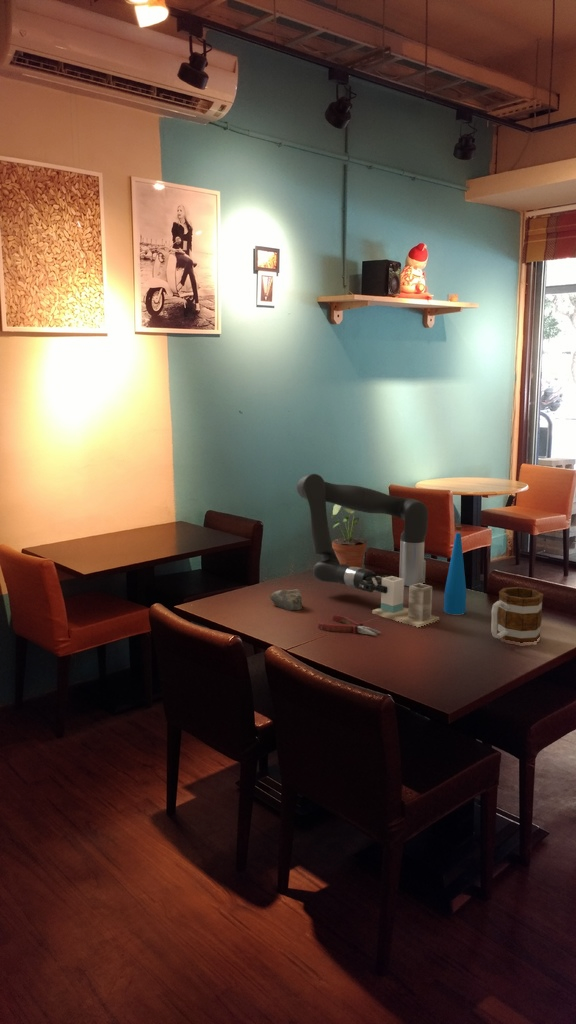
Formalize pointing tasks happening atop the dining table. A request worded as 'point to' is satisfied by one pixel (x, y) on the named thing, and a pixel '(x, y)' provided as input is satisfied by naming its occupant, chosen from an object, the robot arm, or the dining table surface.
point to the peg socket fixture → (414, 607)
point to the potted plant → (348, 542)
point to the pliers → (347, 626)
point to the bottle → (456, 580)
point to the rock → (287, 599)
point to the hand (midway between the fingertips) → (394, 587)
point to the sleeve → (392, 594)
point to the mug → (517, 614)
